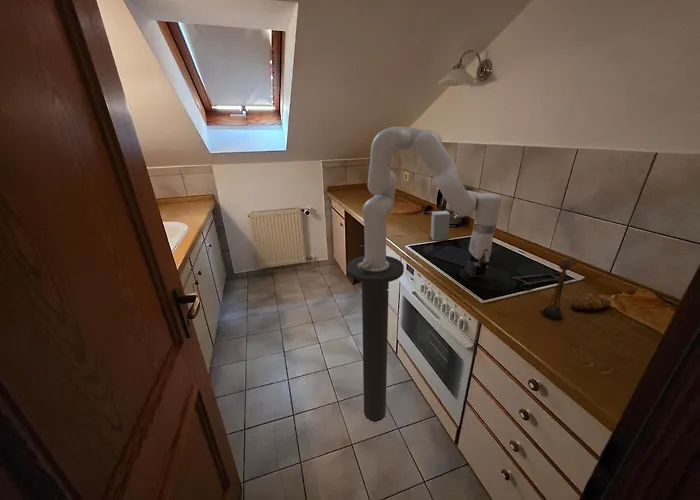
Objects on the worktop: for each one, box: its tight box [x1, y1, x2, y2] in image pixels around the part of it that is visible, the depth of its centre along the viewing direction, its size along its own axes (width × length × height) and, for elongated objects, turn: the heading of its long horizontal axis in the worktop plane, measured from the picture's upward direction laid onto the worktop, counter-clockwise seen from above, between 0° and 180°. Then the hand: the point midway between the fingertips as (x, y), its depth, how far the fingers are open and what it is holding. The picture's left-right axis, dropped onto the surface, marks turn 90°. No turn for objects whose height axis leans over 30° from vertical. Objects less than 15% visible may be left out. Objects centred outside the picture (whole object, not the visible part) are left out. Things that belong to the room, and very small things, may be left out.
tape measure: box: [464, 260, 490, 278], centre depth 117 cm, size 7×6×4 cm
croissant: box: [571, 292, 612, 312], centre depth 97 cm, size 14×7×5 cm, turn 100°
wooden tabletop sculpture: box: [542, 257, 577, 321], centre depth 91 cm, size 6×5×20 cm
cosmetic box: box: [430, 210, 451, 242], centre depth 158 cm, size 8×6×15 cm
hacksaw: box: [511, 270, 572, 291], centre depth 114 cm, size 24×10×2 cm, turn 96°
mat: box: [428, 244, 471, 268], centre depth 140 cm, size 18×18×1 cm
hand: (476, 270), depth 116 cm, fingers closed on tape measure, 6 cm apart
